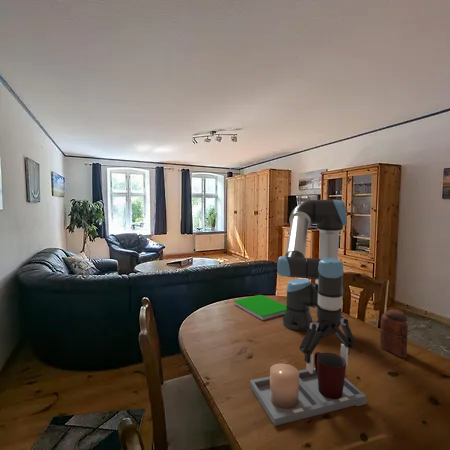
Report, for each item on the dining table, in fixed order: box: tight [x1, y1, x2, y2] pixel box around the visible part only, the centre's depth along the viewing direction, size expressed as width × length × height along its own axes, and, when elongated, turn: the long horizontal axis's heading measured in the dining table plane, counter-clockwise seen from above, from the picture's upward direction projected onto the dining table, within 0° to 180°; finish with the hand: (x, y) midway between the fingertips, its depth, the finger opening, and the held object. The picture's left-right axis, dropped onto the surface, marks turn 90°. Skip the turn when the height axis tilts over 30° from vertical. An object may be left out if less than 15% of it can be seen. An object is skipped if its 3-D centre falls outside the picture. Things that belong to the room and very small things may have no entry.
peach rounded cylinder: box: [269, 362, 299, 409], centre depth 89 cm, size 9×9×9 cm
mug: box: [313, 351, 347, 399], centre depth 94 cm, size 12×9×11 cm
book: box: [233, 294, 287, 321], centre depth 168 cm, size 22×28×3 cm
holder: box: [249, 366, 367, 427], centre depth 92 cm, size 32×18×3 cm, turn 108°
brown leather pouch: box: [379, 309, 409, 359], centre depth 119 cm, size 12×6×18 cm, turn 28°
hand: (326, 367), depth 94 cm, fingers open, 13 cm apart
